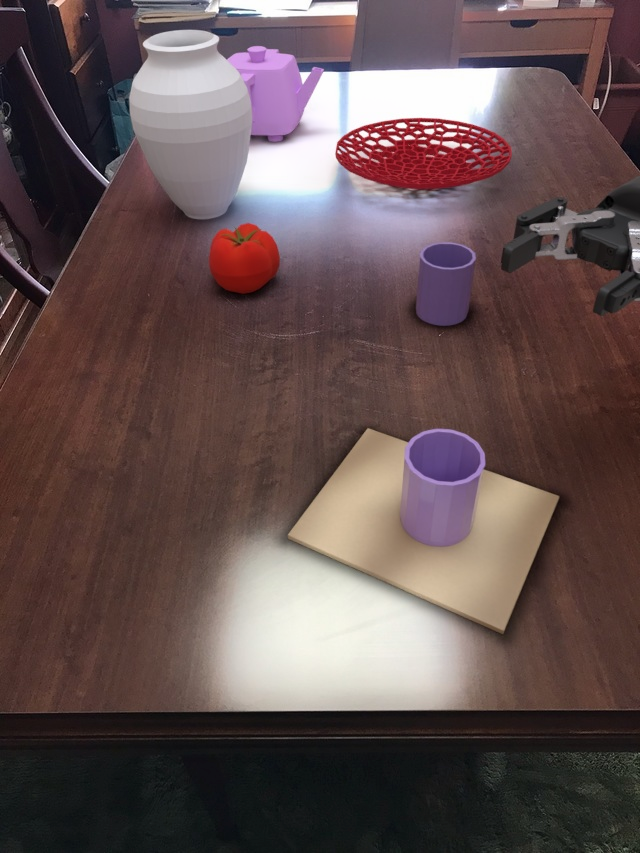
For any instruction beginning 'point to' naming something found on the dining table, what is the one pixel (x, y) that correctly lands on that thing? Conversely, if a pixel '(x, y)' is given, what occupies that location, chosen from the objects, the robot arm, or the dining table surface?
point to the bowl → (423, 154)
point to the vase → (192, 120)
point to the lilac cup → (444, 283)
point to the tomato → (243, 258)
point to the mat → (419, 563)
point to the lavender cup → (441, 486)
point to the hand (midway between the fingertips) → (550, 281)
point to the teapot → (274, 90)
